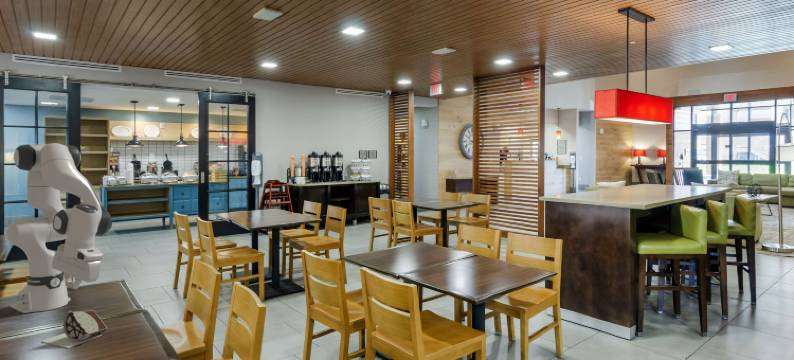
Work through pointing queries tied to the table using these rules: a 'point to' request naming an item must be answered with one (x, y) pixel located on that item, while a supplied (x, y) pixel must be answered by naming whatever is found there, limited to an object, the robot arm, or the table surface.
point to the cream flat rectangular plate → (67, 340)
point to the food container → (82, 324)
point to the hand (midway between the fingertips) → (71, 287)
